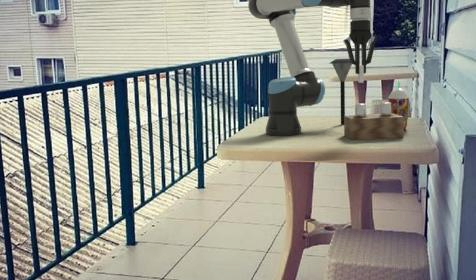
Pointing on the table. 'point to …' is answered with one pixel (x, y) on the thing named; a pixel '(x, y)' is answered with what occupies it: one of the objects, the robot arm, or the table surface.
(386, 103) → the peg
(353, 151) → the table surface
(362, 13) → the robot arm
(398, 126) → the block
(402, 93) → the smoothie
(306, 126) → the table surface
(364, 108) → the peg
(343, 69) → the solar garden light
